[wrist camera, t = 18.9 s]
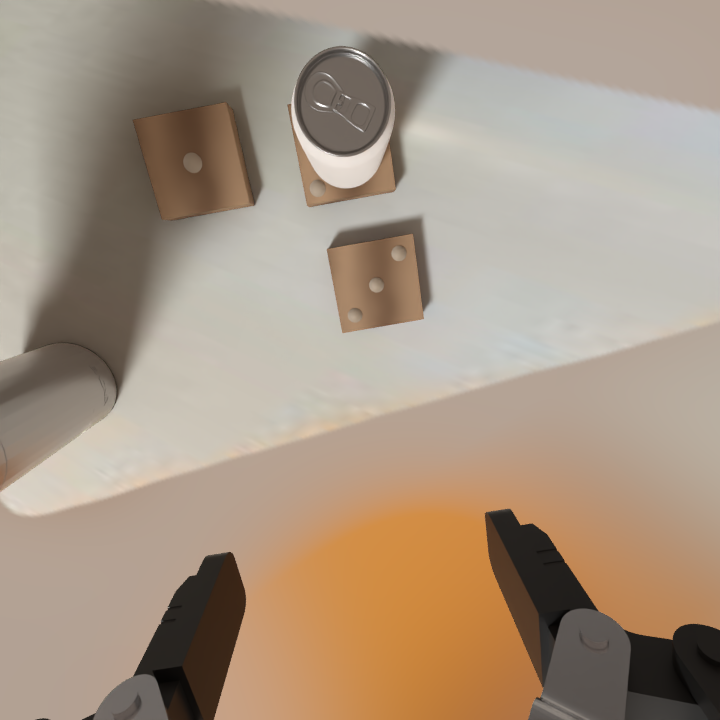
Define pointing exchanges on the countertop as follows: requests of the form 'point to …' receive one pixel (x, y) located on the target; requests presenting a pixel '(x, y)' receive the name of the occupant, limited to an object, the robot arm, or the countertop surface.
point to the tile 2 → (326, 193)
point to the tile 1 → (195, 161)
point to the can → (343, 115)
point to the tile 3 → (376, 283)
